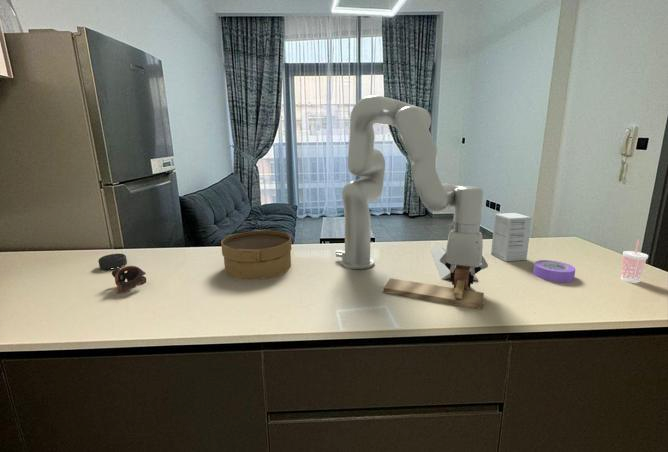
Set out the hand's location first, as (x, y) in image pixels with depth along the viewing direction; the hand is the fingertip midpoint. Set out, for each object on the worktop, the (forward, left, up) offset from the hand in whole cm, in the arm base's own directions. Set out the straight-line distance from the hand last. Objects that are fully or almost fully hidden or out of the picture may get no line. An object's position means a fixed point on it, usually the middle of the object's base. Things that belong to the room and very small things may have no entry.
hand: (461, 283), depth 105 cm
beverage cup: (+50, +27, -2) cm, 57 cm away
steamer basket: (-70, -10, -2) cm, 71 cm away
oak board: (-7, -9, -1) cm, 11 cm away
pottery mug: (-98, -41, -2) cm, 106 cm away
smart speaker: (-122, -31, -2) cm, 126 cm away
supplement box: (+15, +37, -2) cm, 40 cm away
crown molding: (-5, +21, -2) cm, 22 cm away
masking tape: (+28, +22, -2) cm, 36 cm away
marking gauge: (0, -5, -1) cm, 5 cm away
